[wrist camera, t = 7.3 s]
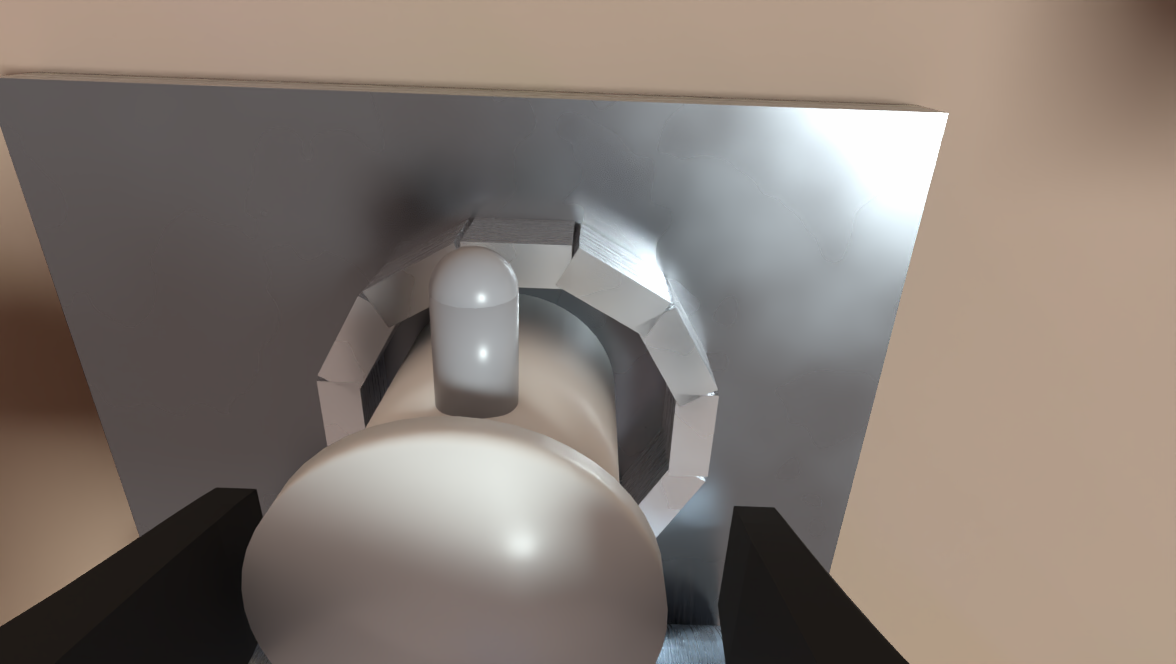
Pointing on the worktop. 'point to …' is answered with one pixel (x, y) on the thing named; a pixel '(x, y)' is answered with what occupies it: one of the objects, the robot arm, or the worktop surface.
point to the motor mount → (501, 223)
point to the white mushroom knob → (467, 504)
